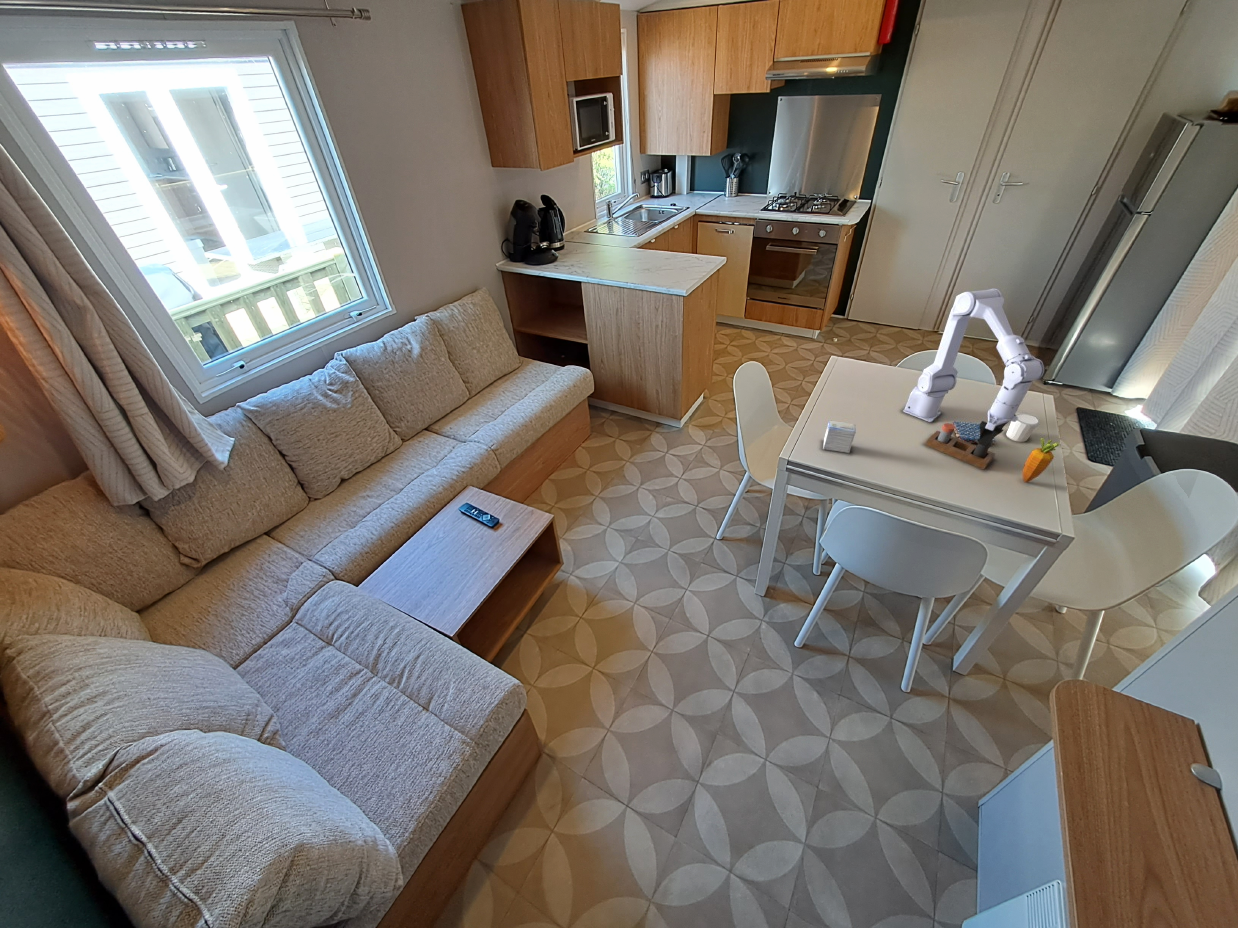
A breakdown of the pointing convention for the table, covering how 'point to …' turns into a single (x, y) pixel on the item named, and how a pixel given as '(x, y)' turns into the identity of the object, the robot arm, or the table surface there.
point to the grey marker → (946, 433)
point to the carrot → (1038, 461)
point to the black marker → (981, 450)
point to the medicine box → (839, 436)
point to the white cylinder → (1022, 427)
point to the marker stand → (960, 450)
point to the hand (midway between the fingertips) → (987, 439)
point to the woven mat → (968, 432)
